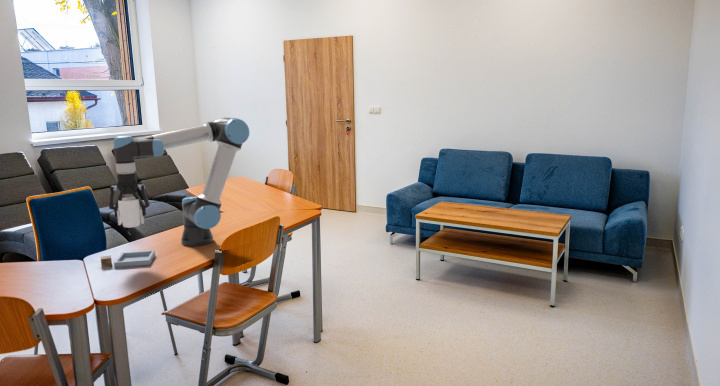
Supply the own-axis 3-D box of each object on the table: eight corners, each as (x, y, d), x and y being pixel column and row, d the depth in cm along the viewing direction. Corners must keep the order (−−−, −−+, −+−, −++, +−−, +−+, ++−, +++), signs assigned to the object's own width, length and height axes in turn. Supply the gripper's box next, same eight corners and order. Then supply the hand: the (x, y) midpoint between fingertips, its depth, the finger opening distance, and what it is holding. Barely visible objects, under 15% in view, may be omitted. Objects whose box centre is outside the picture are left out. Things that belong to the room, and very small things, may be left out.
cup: (129, 222, 223) (126, 196, 220) (147, 223, 221) (144, 197, 218) (115, 227, 214) (112, 200, 212) (134, 228, 212) (131, 201, 210)
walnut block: (111, 264, 218) (110, 255, 217) (112, 266, 214) (111, 257, 214) (101, 265, 216) (100, 256, 215) (101, 268, 213) (100, 259, 212)
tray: (155, 255, 229) (154, 250, 228) (149, 265, 215) (148, 260, 215) (122, 257, 226) (121, 252, 225) (114, 268, 212) (113, 262, 212)
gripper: (154, 170, 219) (158, 220, 223) (101, 172, 214) (107, 223, 219) (151, 172, 211) (155, 224, 216) (96, 174, 207) (102, 227, 211)
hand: (131, 223), depth 217 cm, fingers closed on cup, 9 cm apart
